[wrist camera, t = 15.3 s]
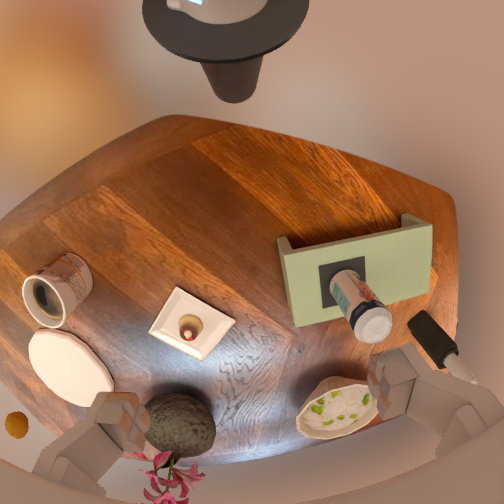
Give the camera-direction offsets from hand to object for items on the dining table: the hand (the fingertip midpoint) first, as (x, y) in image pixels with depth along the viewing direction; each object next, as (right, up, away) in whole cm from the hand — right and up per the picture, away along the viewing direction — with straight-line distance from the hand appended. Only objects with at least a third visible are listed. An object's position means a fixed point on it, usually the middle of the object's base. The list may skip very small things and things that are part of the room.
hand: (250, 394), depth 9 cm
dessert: (-11, -9, +42) cm, 45 cm away
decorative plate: (-45, -24, +47) cm, 69 cm away
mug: (-35, 0, +38) cm, 52 cm away
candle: (+36, -11, +45) cm, 59 cm away
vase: (-17, -31, +50) cm, 61 cm away
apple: (-86, -56, +57) cm, 117 cm away
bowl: (+18, -26, +50) cm, 59 cm away
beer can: (+13, 0, +31) cm, 34 cm away
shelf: (+17, +4, +39) cm, 42 cm away
